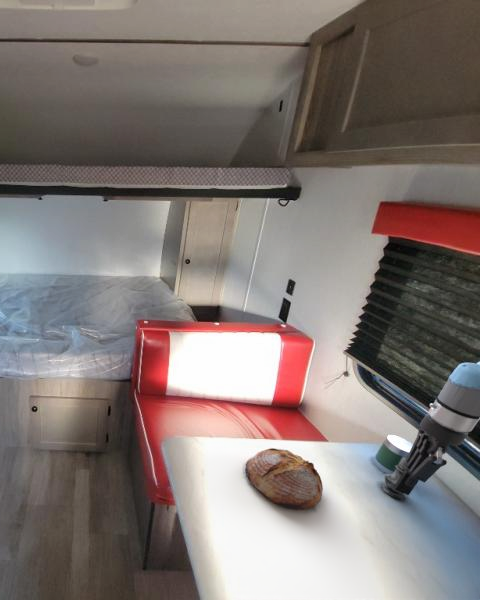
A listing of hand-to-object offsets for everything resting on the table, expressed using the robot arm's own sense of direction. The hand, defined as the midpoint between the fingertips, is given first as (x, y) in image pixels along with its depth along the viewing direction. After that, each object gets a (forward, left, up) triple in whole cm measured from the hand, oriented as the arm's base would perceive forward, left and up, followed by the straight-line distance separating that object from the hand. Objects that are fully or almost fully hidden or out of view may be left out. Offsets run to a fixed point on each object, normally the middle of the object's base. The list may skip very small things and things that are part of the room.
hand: (401, 490), depth 90 cm
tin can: (+10, -10, -4) cm, 15 cm away
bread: (+9, +30, -4) cm, 31 cm away
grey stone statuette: (+2, -2, -4) cm, 5 cm away
